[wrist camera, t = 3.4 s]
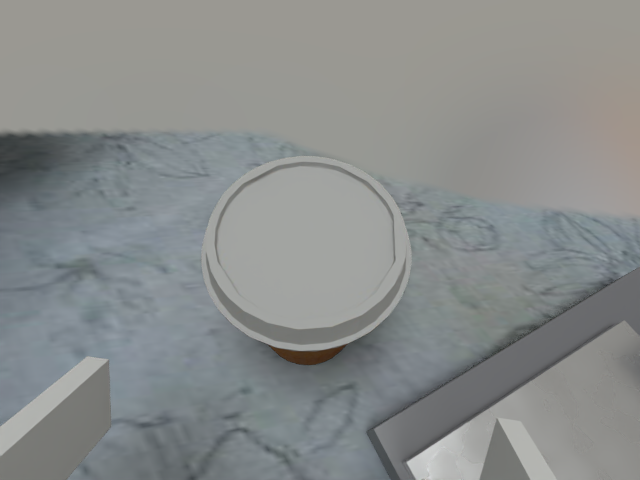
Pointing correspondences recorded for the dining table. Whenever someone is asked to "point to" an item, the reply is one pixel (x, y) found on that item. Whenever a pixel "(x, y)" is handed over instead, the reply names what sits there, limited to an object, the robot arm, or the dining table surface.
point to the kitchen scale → (503, 373)
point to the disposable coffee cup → (306, 256)
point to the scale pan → (559, 417)
